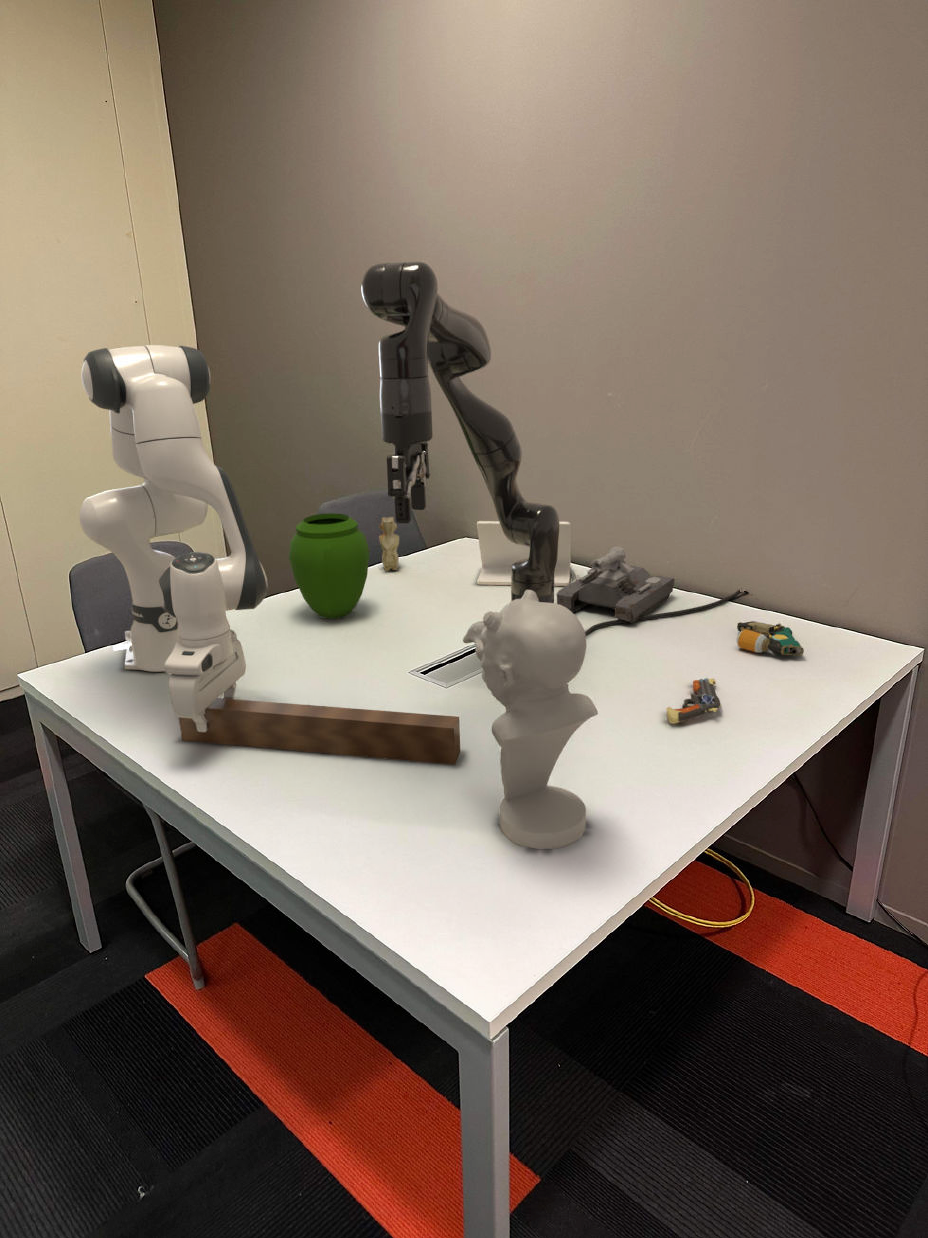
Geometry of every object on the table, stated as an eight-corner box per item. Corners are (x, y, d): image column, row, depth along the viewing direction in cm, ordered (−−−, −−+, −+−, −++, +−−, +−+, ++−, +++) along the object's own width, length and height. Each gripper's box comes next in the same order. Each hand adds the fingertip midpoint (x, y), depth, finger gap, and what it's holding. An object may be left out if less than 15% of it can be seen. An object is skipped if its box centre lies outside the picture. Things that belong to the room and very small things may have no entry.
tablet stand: (569, 585, 229) (570, 524, 223) (476, 584, 232) (475, 523, 226) (570, 566, 246) (571, 508, 240) (484, 564, 249) (483, 507, 243)
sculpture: (401, 564, 252) (398, 514, 246) (400, 571, 245) (397, 520, 240) (381, 565, 251) (378, 515, 246) (380, 572, 245) (377, 521, 239)
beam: (460, 752, 147) (459, 716, 145) (455, 765, 143) (453, 728, 141) (193, 729, 158) (188, 695, 155) (182, 740, 154) (176, 705, 152)
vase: (389, 608, 216) (383, 514, 208) (339, 633, 201) (330, 533, 192) (330, 596, 226) (322, 506, 218) (278, 619, 211) (267, 523, 202)
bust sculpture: (526, 759, 144) (526, 560, 132) (615, 831, 124) (624, 605, 112) (442, 785, 137) (433, 578, 125) (521, 866, 117) (520, 629, 105)
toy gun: (667, 713, 153) (725, 711, 151) (663, 676, 171) (714, 673, 169) (668, 727, 154) (725, 725, 151) (664, 689, 171) (715, 686, 169)
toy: (603, 584, 229) (605, 530, 224) (673, 597, 218) (677, 540, 213) (555, 612, 210) (556, 553, 205) (630, 627, 199) (633, 566, 194)
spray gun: (738, 629, 198) (807, 640, 192) (727, 651, 184) (801, 664, 178) (740, 612, 197) (810, 622, 191) (729, 633, 182) (804, 645, 176)
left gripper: (218, 624, 158) (227, 692, 163) (158, 668, 140) (171, 743, 145) (249, 626, 157) (258, 694, 162) (193, 670, 138) (205, 746, 143)
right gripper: (395, 402, 133) (401, 504, 139) (366, 414, 120) (373, 526, 126) (442, 402, 132) (446, 506, 137) (417, 414, 119) (422, 528, 124)
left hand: (216, 718), depth 153 cm, fingers open, 8 cm apart
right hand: (411, 515), depth 132 cm, fingers open, 8 cm apart
